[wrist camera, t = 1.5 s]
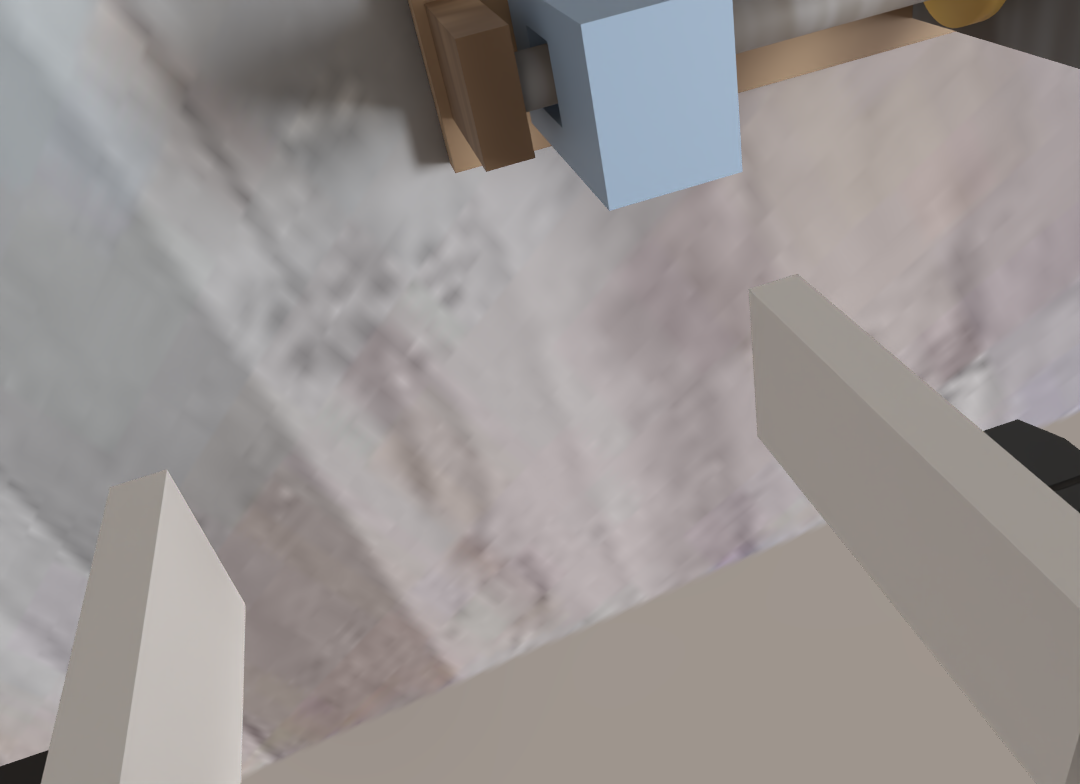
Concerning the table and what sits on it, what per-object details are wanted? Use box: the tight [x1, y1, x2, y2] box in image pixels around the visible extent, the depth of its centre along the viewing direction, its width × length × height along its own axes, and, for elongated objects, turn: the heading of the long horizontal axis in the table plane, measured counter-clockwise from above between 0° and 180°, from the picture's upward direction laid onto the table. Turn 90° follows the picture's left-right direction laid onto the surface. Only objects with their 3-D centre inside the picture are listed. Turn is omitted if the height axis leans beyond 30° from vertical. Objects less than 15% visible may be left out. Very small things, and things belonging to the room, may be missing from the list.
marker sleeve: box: [508, 0, 742, 211], centre depth 27 cm, size 4×5×9 cm
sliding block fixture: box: [408, 0, 1080, 173], centre depth 29 cm, size 22×8×10 cm, turn 102°
